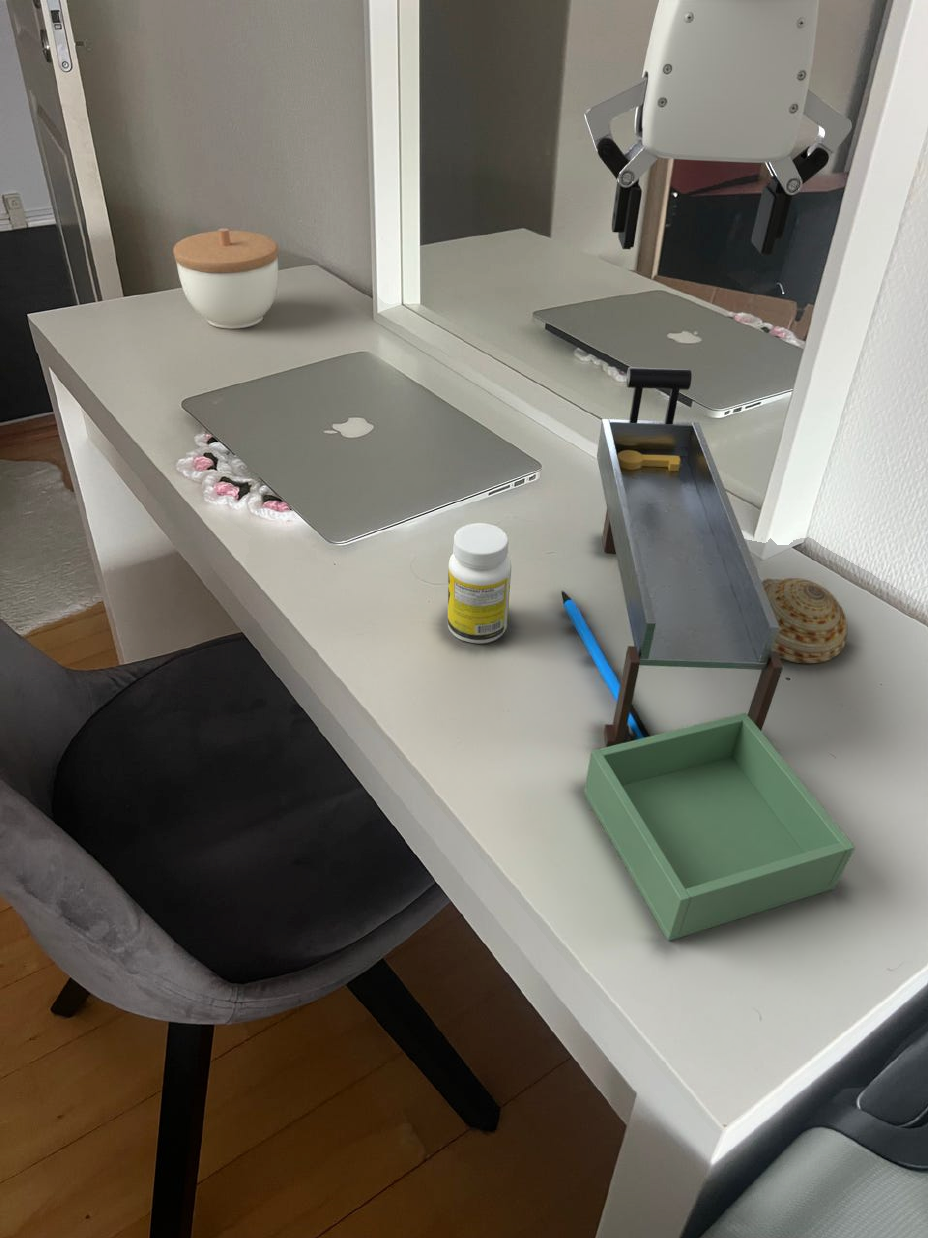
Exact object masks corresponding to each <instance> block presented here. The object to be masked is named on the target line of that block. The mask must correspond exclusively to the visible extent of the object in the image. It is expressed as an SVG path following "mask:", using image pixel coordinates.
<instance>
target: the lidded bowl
mask: <svg viewBox="0 0 928 1238" xmlns="http://www.w3.org/2000/svg"><path fill="white" fill-rule="evenodd" d="M172 251H173V257H174V260H175V262H176V268H177V269H176V270H177V273H178V277H179V281H180V285H181V287H182V290H183V293H184V296H185V297H186V299H187V301H188V303H189V304H190V305H191V307H192V308H193V309H194V310H195V312H197V313H198V314H199V315H200V316H202V317H203V318H204V319H206V322H207V323H208V324H209V325H211V326H213V327H216V328H222V329H231V330H232V329H235V330H237V329H244V328H249V327H253V326H255V325H258V324H259V323H261V322H262V321H263V319H264V316H265V315H266V314H267V312H268V311H269V310H270V308H271V307H272V306H273V304H274V302H275V300H276V296H277V294H278V288H279V276H280V275H279V262H278V261H279V260H278V259H279V258H278V257H279V247H278V244H277V243H276V241H275V240H274V239H273V238H271V237H269V236H267V235H264V234H261V233H257V232H253V231H252V232H251V231H242V230H230V229H229V228H225V227H223V228H222V227H221V228H218V230H216V231H207V232H201V233H198V234H193V235H190V236H187V237H185V238H183V239H181V240H179V241H178V242H176V243H175V244H174V246H173V249H172Z"/></svg>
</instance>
